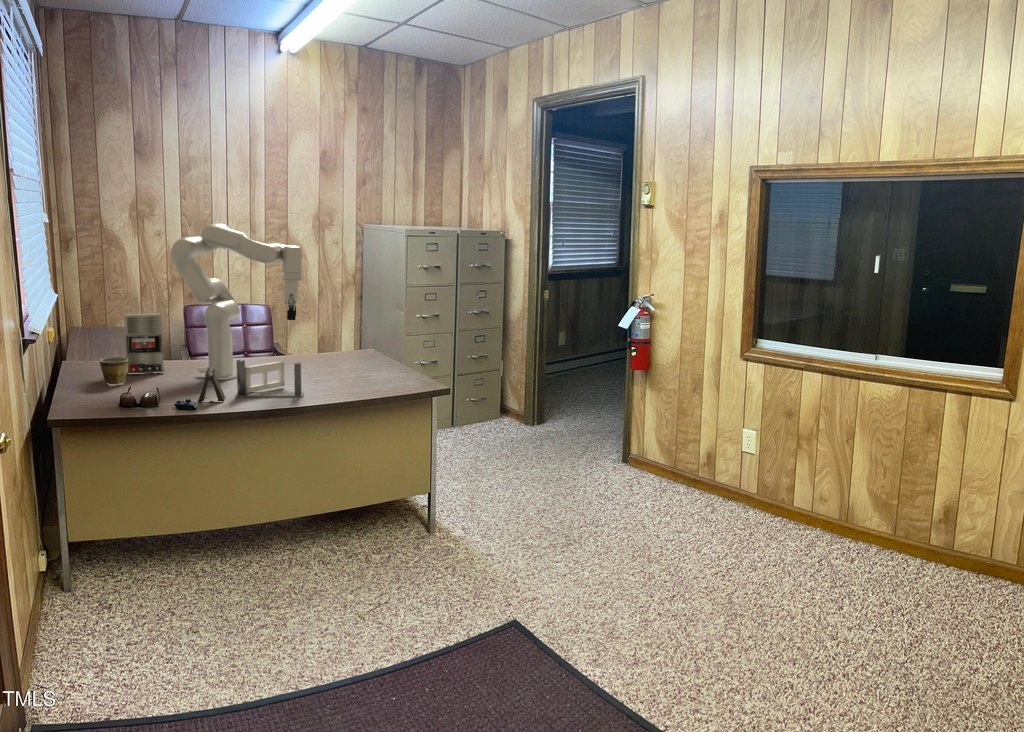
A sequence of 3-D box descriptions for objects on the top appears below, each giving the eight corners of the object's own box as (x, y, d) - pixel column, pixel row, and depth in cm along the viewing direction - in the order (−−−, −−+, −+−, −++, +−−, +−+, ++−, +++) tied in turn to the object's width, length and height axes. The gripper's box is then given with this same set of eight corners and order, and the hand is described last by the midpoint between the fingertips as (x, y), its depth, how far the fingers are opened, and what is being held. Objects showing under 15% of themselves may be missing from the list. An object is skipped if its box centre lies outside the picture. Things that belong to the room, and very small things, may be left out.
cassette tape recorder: (127, 375, 317) (123, 316, 312) (128, 372, 323) (124, 313, 317) (164, 374, 323) (161, 315, 318) (164, 370, 328) (161, 313, 323)
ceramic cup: (135, 384, 305) (133, 359, 303) (111, 389, 297) (110, 363, 295) (114, 379, 311) (112, 355, 309) (90, 383, 303) (89, 359, 301)
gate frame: (235, 398, 292) (234, 362, 289) (237, 394, 298) (236, 358, 295) (303, 397, 298) (302, 362, 295) (303, 393, 303) (303, 359, 300)
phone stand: (225, 398, 292) (224, 367, 289) (223, 402, 286) (222, 371, 284) (199, 398, 290) (198, 367, 287) (197, 402, 284) (196, 371, 281)
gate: (247, 392, 297) (246, 367, 294) (245, 392, 298) (244, 367, 295) (284, 385, 310) (284, 361, 308) (282, 385, 311) (281, 361, 309)
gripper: (283, 273, 318) (283, 314, 322) (281, 278, 302) (281, 321, 306) (302, 274, 320) (301, 314, 324) (301, 279, 304) (300, 321, 308)
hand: (291, 317), depth 315 cm, fingers open, 9 cm apart
